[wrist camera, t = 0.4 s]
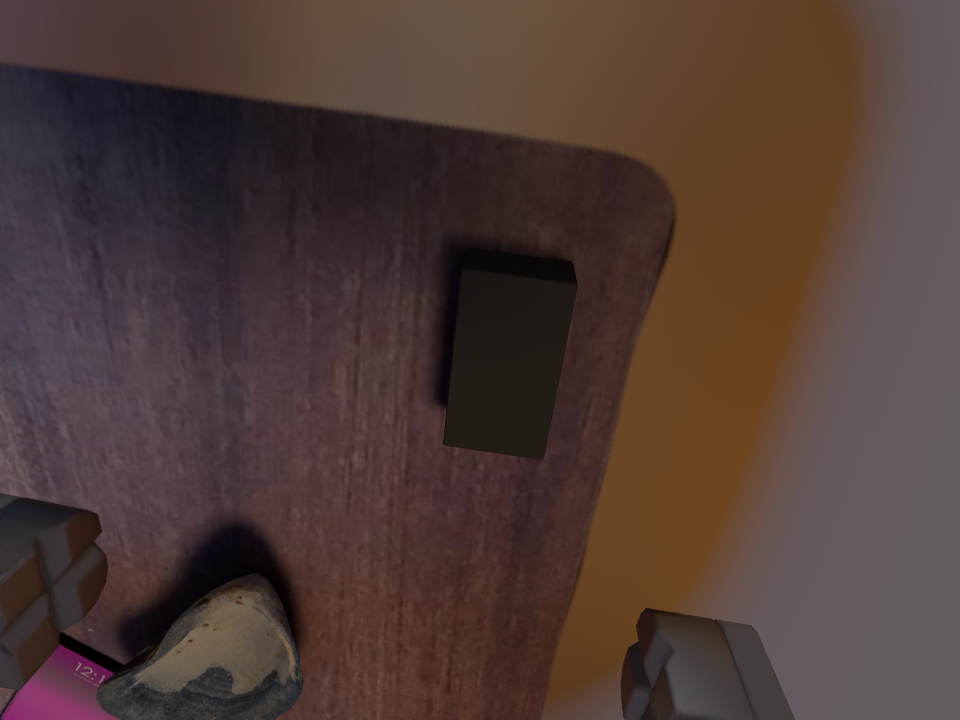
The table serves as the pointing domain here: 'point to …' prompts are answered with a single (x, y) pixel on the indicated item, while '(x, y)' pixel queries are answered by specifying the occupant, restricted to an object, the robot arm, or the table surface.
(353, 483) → the table surface
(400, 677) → the table surface
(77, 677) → the smartphone
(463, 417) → the black pad
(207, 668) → the seashell
